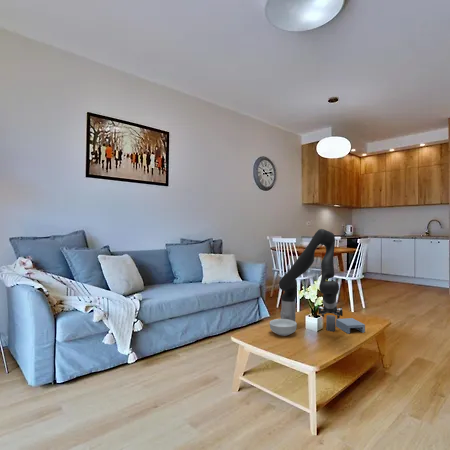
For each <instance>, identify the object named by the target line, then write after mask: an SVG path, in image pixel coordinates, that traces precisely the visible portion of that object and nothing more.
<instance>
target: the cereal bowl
mask: <svg viewBox="0 0 450 450" xmlns="http://www.w3.org/2000/svg"><path fill="white" fill-rule="evenodd" d="M297 327H298V323H297V322H296V320H295V321H293V320H289V319H281V318H276V319H272V320H270V321H269V328H270V330H271V331H272V332H273V333H275V334H276V335H278V336H281V337H284V336H285V337H286V336H289V335H291V334H294V333H295V331H296V330H297Z"/></svg>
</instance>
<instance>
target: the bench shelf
mask: <svg viewBox="0 0 450 450" xmlns="http://www.w3.org/2000/svg"><path fill="white" fill-rule="evenodd" d="M335 328H338V329H339V330H341V331H343V332H344V333H346V334H351V329H355V330H357V331H359V332H361V333H363V334H364V332H365V333H366V324H365V323H363V322H360V321H359V320H356V319H355V318H353V317H351V318H350V317H349V318H347V317H346V318H338V319H337V318H335Z"/></svg>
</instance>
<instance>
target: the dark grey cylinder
mask: <svg viewBox="0 0 450 450" xmlns="http://www.w3.org/2000/svg"><path fill="white" fill-rule="evenodd" d="M325 318H326V320H325V322H326V323H325V324H326V325H325V326H326V331H327V332H336V315H333V314H327V315H325Z"/></svg>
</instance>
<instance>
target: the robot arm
mask: <svg viewBox="0 0 450 450" xmlns="http://www.w3.org/2000/svg"><path fill="white" fill-rule="evenodd" d="M335 237H336V236H335V234H334V233H333V232H331V231H328V230H326V229H323V228H320V229H318V230H317V231H315V233H314V235H313V236H312V238H311V240H310V241H309V243H308V244H307V245H306V247H305V248H304V250H303V251H302V253H300V255H299V256H298V258H297V259H296V260H295V262H294V263H293V264H292V266H291V267H290V268H289V269H288V271H287V272H286V273H285V274H284V275H283V276H282V277H281V279H280V280H279V282H278V287H279V289H280V290H281V291H284V292H283V294H282V295H281V310H280V319H289V320H293V321H295V322H296V298H297V292H298V291H297V290H298V282H297V279H298V278H299V277H301V276H302V275H303V274H304V273H306V272H307V271H308V270H309V268H311V266H312V265H313V264H314V262H315V254H316V250H317V249H318V247H319V246H320V245H321V246H324V247H325V255H324V256H323V258H322V259H321V263H320V268H321V269H320V271H321V278H320V283H319V287H318V289H319V292H320V293H321V294H323V295H322V296H323V298H322V299H323V300H322V304H323V306H321V305H318V311H317V312H318V315H321V317H322V318H325V315H326V314H331V315H333V314H334V316H337V317H336V319H341V318H340V317H343V315H344V314H343V313H344V312H343V307H340V308H338V306H337V305H338V303H337V295H338V294H339V291H340V285H339V283H338V282H337V281H335V280H329V279H332V278H334V277H335V266H334V263H335V262H334V258H335V257H334V256H335V255H334V254H335V246H336V245H335V244H336V238H335Z"/></svg>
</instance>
